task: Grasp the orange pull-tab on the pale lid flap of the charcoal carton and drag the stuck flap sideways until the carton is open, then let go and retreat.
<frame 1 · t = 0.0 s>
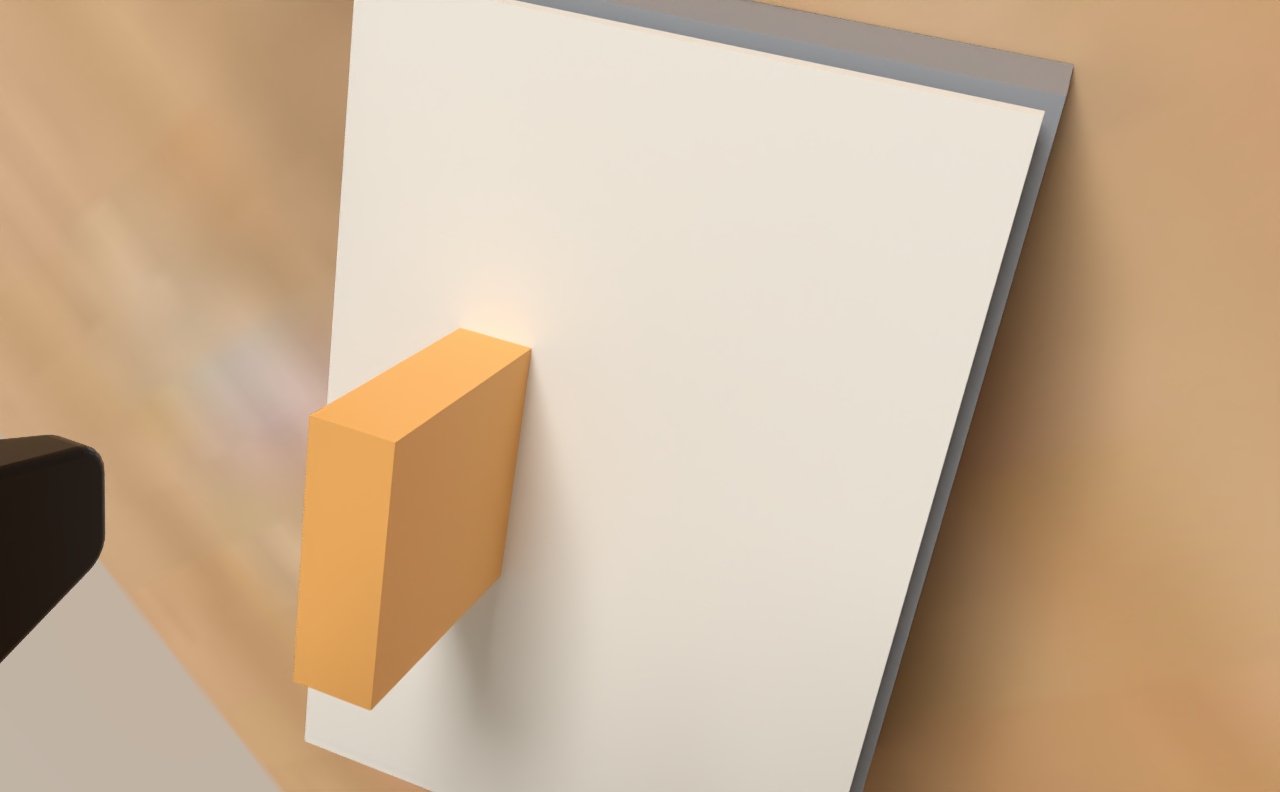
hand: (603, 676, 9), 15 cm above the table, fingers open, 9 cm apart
carton: (707, 375, 24), on the table
flap: (554, 539, 17), point 8 cm above the table, slide at 0.0 cm
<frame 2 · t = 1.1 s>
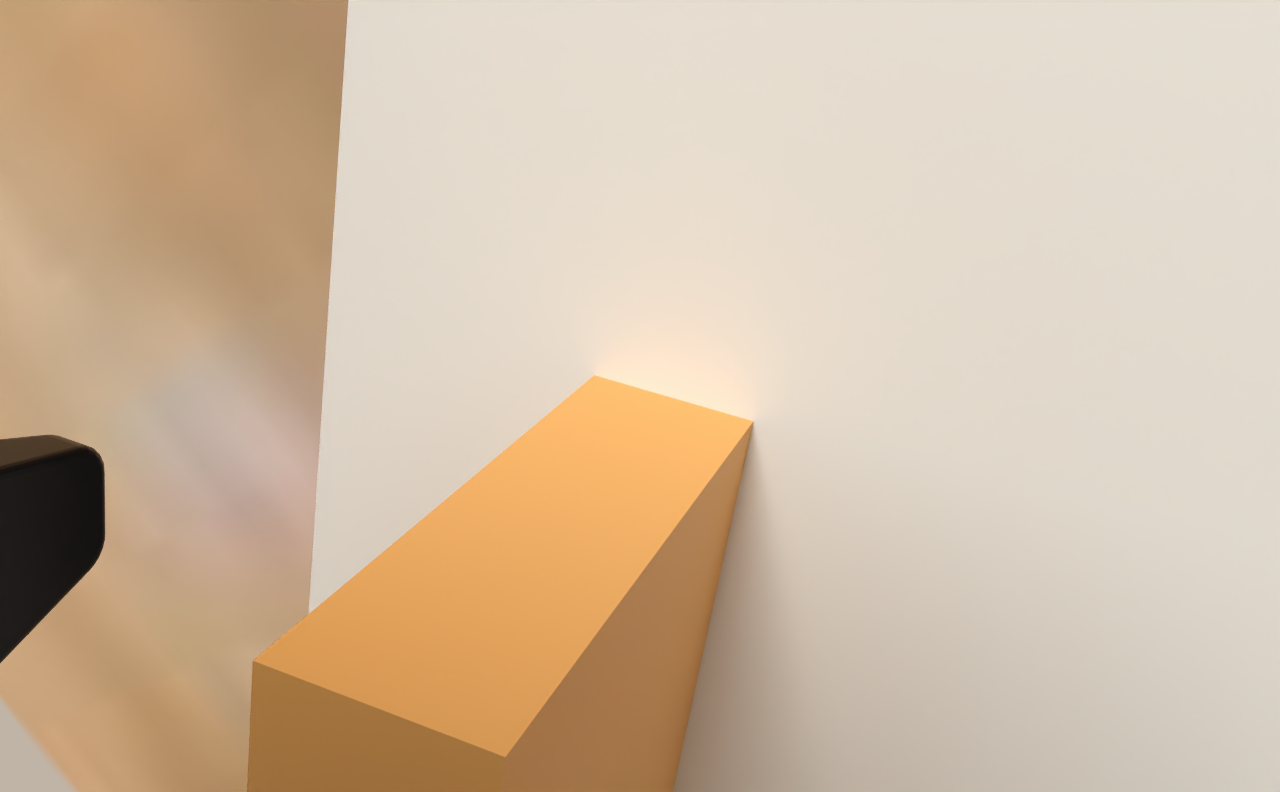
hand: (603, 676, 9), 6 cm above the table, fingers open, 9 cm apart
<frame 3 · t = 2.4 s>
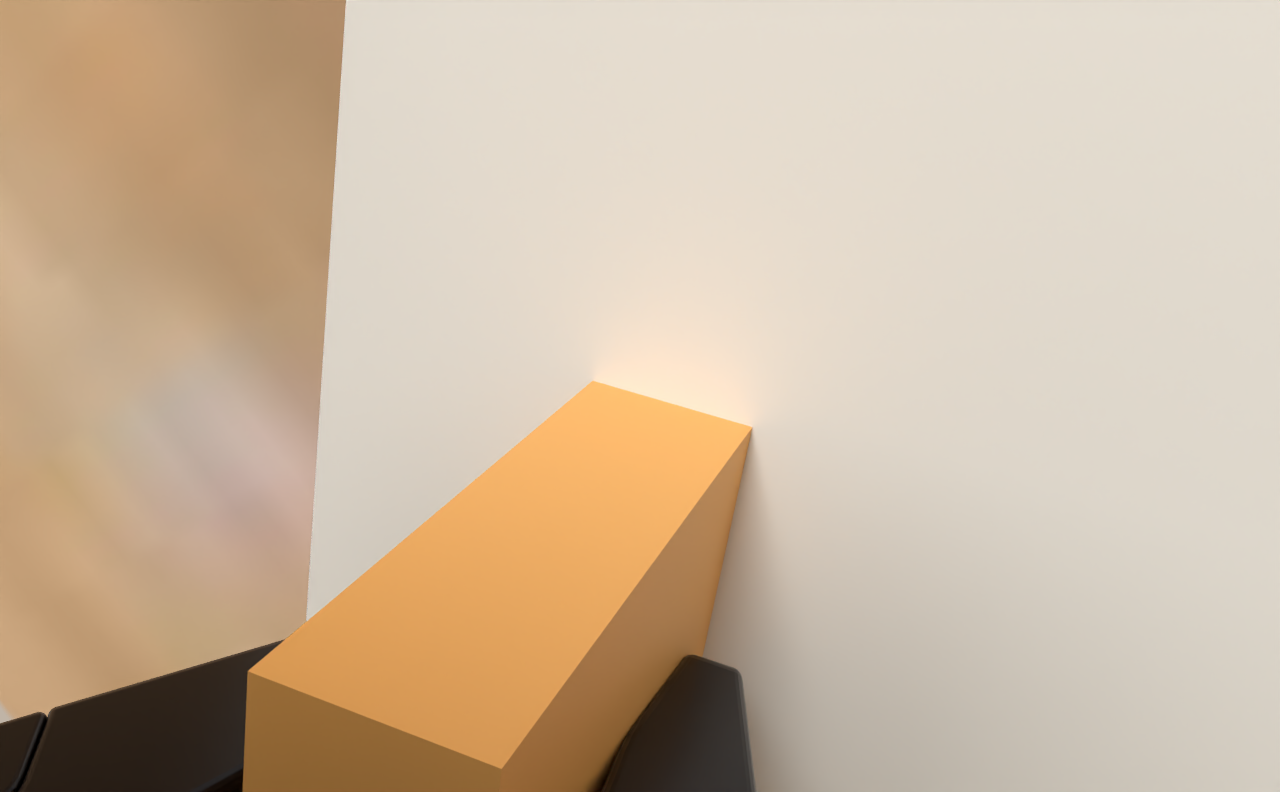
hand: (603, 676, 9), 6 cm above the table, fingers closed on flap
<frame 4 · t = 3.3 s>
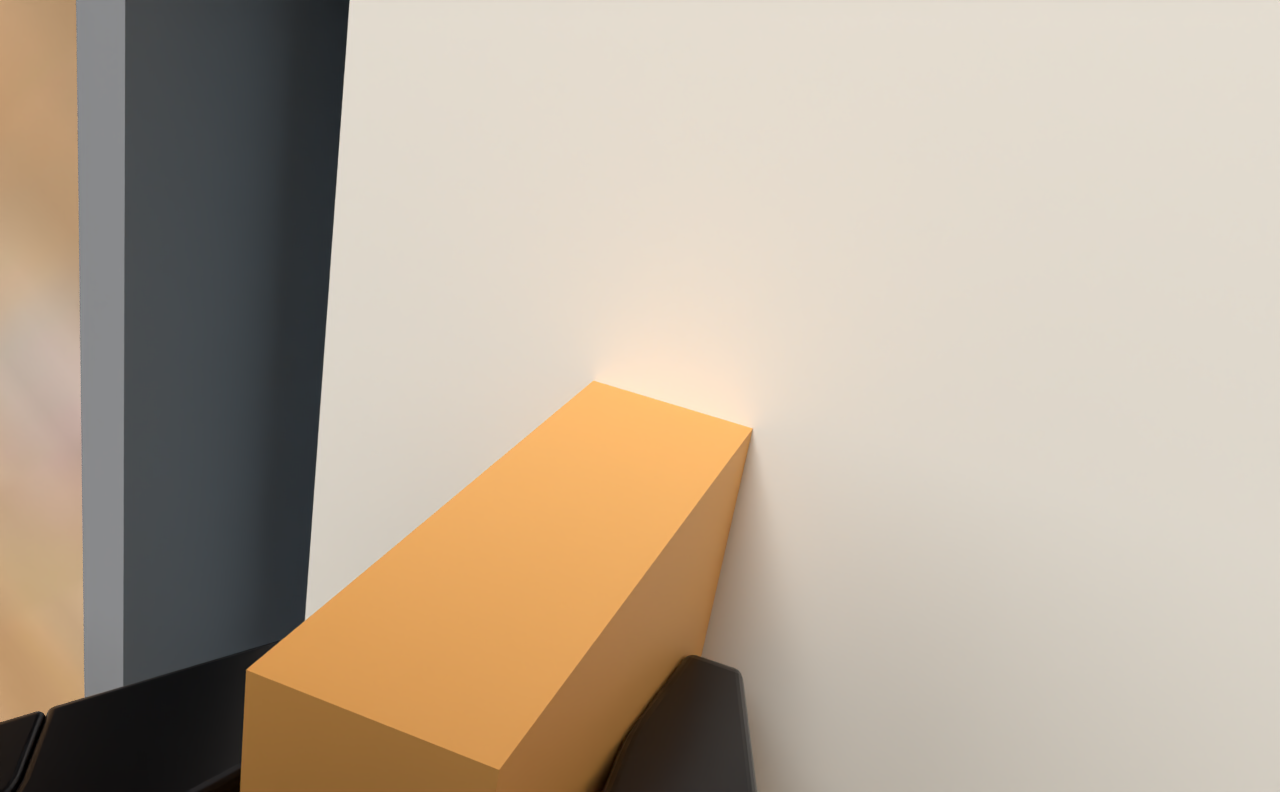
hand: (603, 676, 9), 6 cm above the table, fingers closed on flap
carton: (720, 372, 15), on the table
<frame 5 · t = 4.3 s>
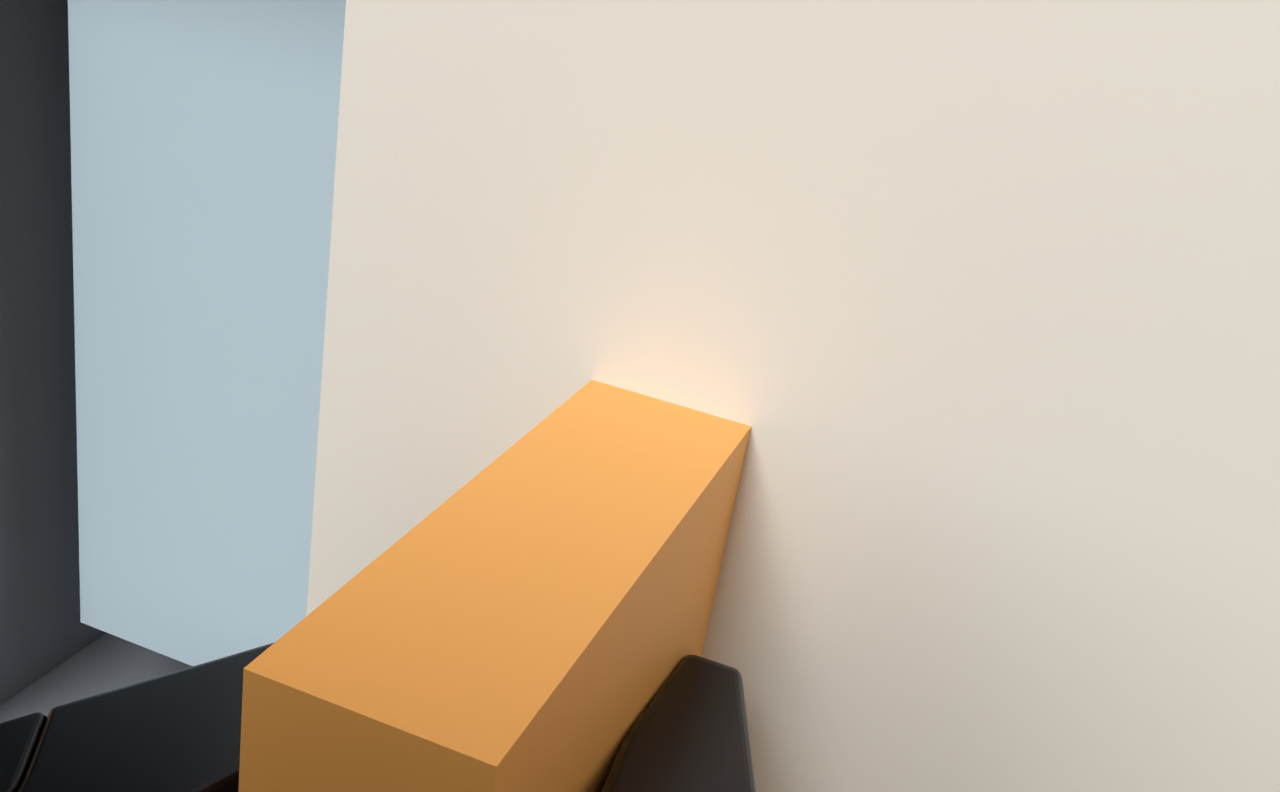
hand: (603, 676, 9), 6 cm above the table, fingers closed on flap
carton: (436, 292, 16), on the table
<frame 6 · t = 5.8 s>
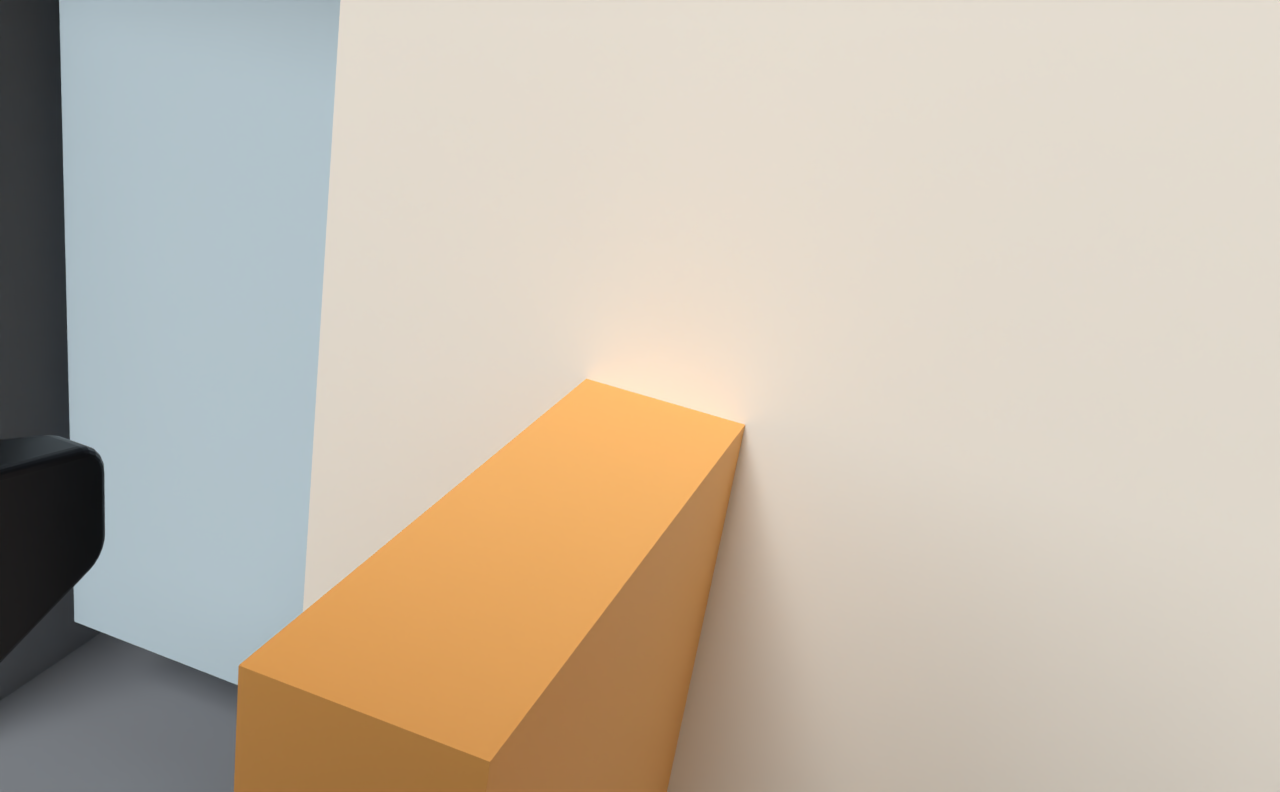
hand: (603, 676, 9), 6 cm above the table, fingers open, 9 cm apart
carton: (428, 291, 16), on the table
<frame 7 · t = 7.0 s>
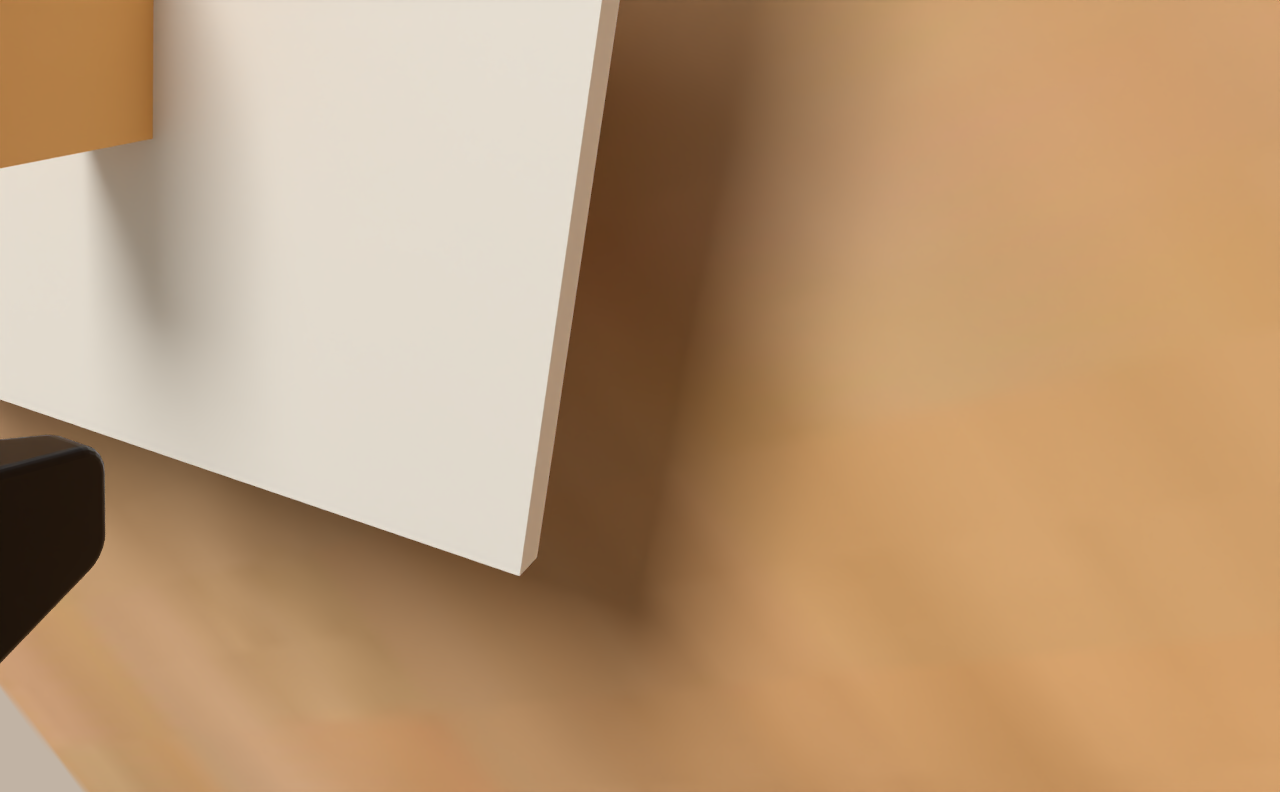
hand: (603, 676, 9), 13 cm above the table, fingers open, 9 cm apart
flap: (153, 13, 14), point 8 cm above the table, slide at 6.9 cm
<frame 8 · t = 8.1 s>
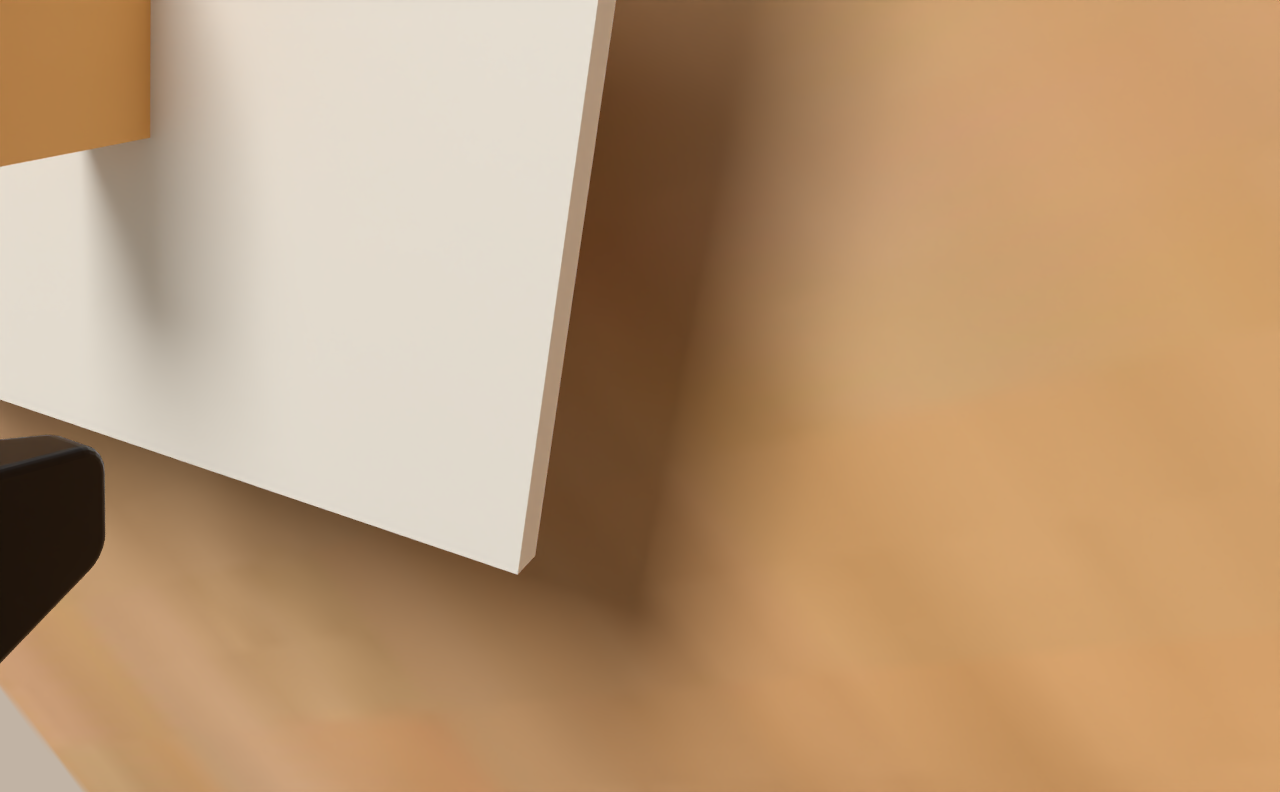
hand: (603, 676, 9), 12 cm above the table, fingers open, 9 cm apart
flap: (149, 12, 14), point 8 cm above the table, slide at 6.9 cm
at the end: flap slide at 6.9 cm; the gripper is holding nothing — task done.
